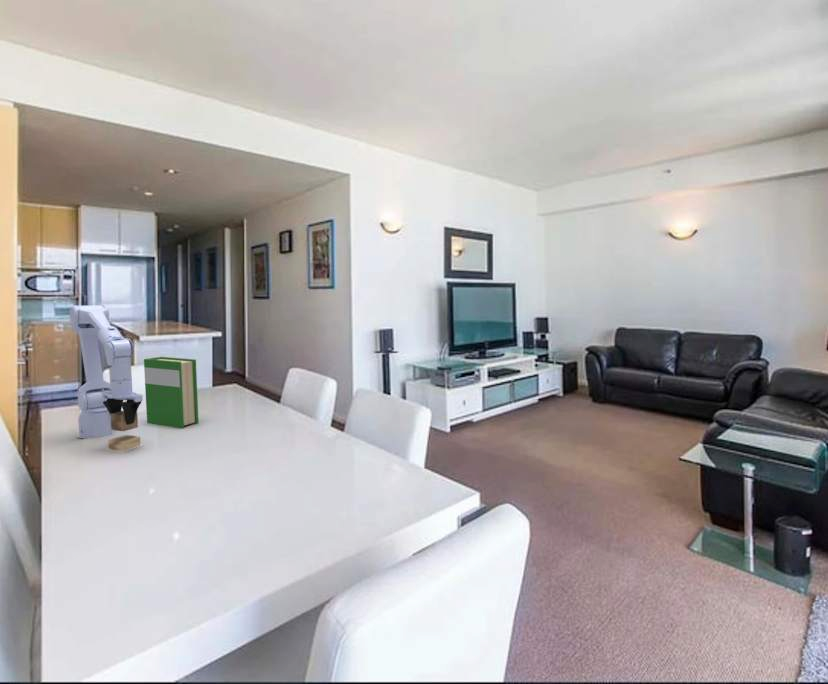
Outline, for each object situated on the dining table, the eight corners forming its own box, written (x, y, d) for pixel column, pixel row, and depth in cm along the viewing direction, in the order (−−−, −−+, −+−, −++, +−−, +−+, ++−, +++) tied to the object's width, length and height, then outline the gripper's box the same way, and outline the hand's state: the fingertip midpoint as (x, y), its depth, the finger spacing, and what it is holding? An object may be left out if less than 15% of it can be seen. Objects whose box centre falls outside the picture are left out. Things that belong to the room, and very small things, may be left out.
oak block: (108, 448, 146) (108, 440, 146) (126, 443, 151) (125, 434, 151) (123, 451, 144) (122, 442, 144) (140, 445, 149) (140, 436, 149)
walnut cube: (111, 429, 146) (110, 413, 145) (126, 425, 151) (125, 410, 150) (123, 431, 144) (122, 415, 144) (137, 427, 149) (137, 411, 148)
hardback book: (198, 423, 177) (195, 359, 175) (181, 428, 170) (178, 362, 168) (164, 418, 184) (161, 356, 182) (147, 423, 177) (143, 359, 175)
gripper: (91, 380, 144) (93, 423, 145) (126, 383, 139) (129, 428, 141) (112, 376, 151) (115, 418, 152) (147, 379, 146) (149, 422, 147)
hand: (123, 422), depth 147 cm, fingers closed on walnut cube, 5 cm apart
